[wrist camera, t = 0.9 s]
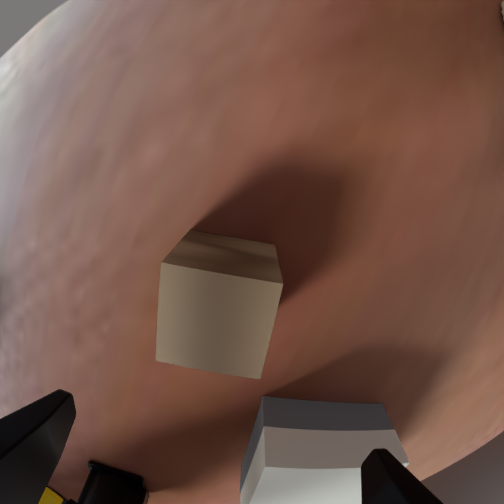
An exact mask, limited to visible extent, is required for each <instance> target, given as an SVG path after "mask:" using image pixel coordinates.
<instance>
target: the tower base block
mask: <svg viewBox="0 0 504 504" xmlns="http://www.w3.org/2000/svg"><path fill="white" fill-rule="evenodd" d="M264 426H267V427H277V428H289V429H305V430H330V431H369V430H393V429H394V428H393V426H392V424H391V422H390V419H389V417H388V415H387V413H386V410H385V408H384V406H383V404H377V403H341V402H323V401H309V400H297V399H287V398H278V397H269V396H263V397H262V400H261V404H260V407H259V410H258V414H257V417H256V420H255V424H254V427H253V430H252V434H251V437H250V440H249V443H248V446H247V450H246V453H245V456H244V459H243V462H242V465H241V480H240V493H241V491H242V488H243V486H244V483H245V480H246V477H247V475H248V472H249V469H250V466H251V464H252V461H253V458H254V455H255V452H256V449H257V446H258V443H259V440H260V437H261V435H262V432H263V429H264Z"/></svg>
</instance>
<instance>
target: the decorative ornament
mask: <svg viewBox="0 0 504 504" xmlns="http://www.w3.org/2000/svg"><path fill="white" fill-rule="evenodd" d="M501 7H502V10H501V13H502V15H503V21H504V1H503V2H502V3H501Z"/></svg>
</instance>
